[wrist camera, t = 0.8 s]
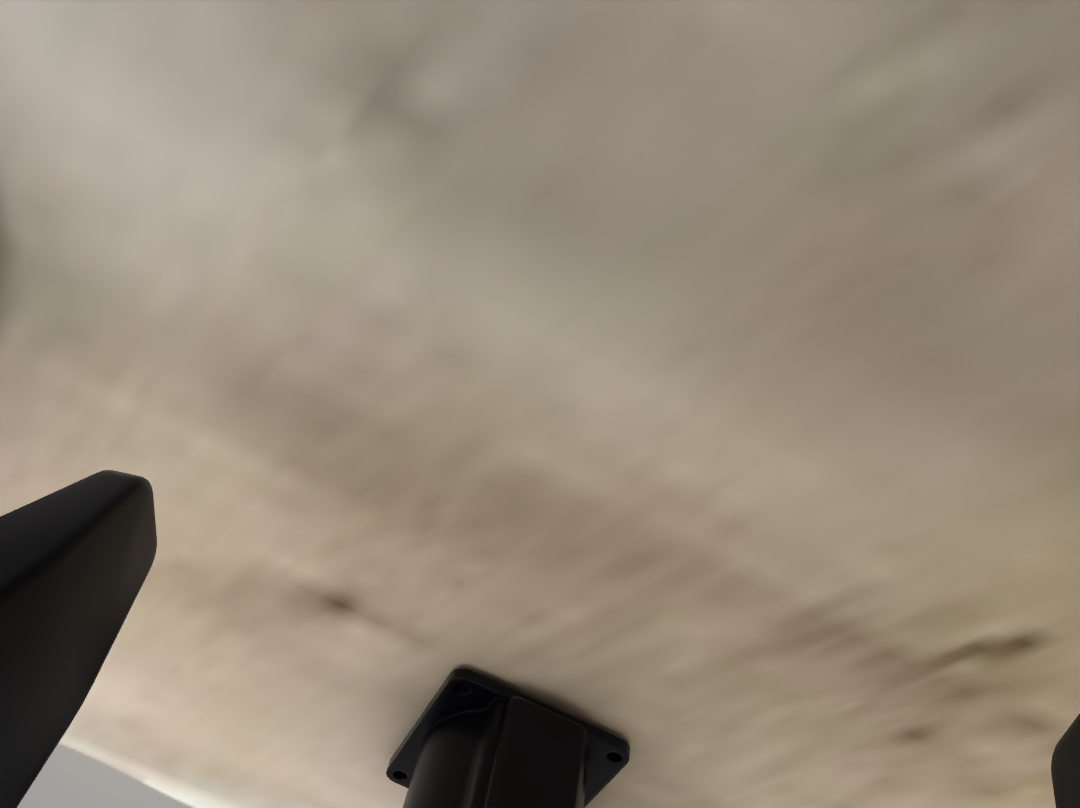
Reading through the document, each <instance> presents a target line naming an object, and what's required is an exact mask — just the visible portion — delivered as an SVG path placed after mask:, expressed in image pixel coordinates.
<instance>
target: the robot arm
mask: <svg viewBox="0 0 1080 808" xmlns="http://www.w3.org/2000/svg"><path fill="white" fill-rule="evenodd" d="M156 547H157V536H156V524H155V513H154V501H153V491H152V487H151V485H150V483H149V481H148V480H147V479H145V478H143V477H140V476H136V475H131V474H127V473H122V472H118V471H113V470H105V471H101V472H98V473H96V474H93V475H91V476H89V477H87V478H85V479H82V480H80V481H78V482H76V483H74V484H71V485H69V486H67V487H65V488H63V489H60V490H58V491H56V492H54V493H52V494H49V495H47V496H45V497H43V498H41V499H38V500H36V501H34V502H32V503H30V504H28V505H25V506H23V507H21V508H19V509H17V510H14V511H12V512H10V513H8V514H6V515H3V516H1V517H0V808H17V806H18V805H19V803H20V802H21V800H22V799H23V797H24V795H25V794H26V792H27V791H28V789H29V788H30V786H31V784H32V783H33V781H34V780H35V778H36V777H37V775H38V774H39V772H40V771H41V769H42V767H43V766H44V764H45V763H46V761H47V760H48V758H49V757H50V755H51V753H52V752H53V750H54V749H55V747H56V746H57V744H58V743H59V741H60V739H61V738H62V736H63V735H64V733H65V732H66V730H67V729H68V727H69V725H70V724H71V722H72V720H73V719H74V717H75V715H76V714H77V712H78V710H79V709H80V707H81V706H82V704H83V702H84V700H85V698H86V696H87V694H88V692H89V691H90V689H91V687H92V685H93V683H94V681H95V679H96V677H97V675H98V673H99V671H100V669H101V667H102V665H103V663H104V661H105V659H106V657H107V655H108V653H109V651H110V649H111V647H112V645H113V643H114V641H115V639H116V637H117V635H118V633H119V631H120V629H121V627H122V625H123V623H124V621H125V619H126V617H127V615H128V613H129V611H130V609H131V607H132V605H133V603H134V601H135V599H136V596H137V594H138V592H139V590H140V588H141V586H142V584H143V582H144V580H145V578H146V576H147V574H148V572H149V570H150V568H151V566H152V563H153V561H154V558H155V553H156ZM629 757H630V745H629V744H628V743H627V742H626V741H625V740H623V739H621V738H619V737H617V736H615V735H613V734H610V733H608V732H606V731H604V730H602V729H599V728H597V727H595V726H593V725H591V724H588V723H586V722H584V721H582V720H580V719H577V718H575V717H573V716H571V715H569V714H566V713H564V712H562V711H560V710H558V709H555V708H553V707H551V706H549V705H547V704H544V703H542V702H540V701H538V700H536V699H533V698H531V697H529V696H527V695H524V694H522V693H520V692H518V691H516V690H513V689H511V688H509V687H507V686H505V685H502V684H500V683H498V682H496V681H494V680H491V679H489V678H487V677H485V676H483V675H480V674H478V673H476V672H474V671H472V670H468V669H462V668H459V669H456V670H454V671H453V672H451V674H450V675H449V677H448V678H447V679H446V681H445V682H444V684H443V685H442V687H441V688H440V689H439V691H438V692H437V694H436V695H435V697H434V698H433V699H432V701H431V702H430V704H429V705H428V707H427V708H426V710H425V711H424V712H423V714H422V715H421V717H420V718H419V720H418V721H417V722H416V724H415V725H414V727H413V728H412V730H411V731H410V732H409V734H408V735H407V737H406V738H405V740H404V741H403V743H402V744H401V745H400V747H399V748H398V750H397V751H396V753H395V754H394V755H393V757H392V758H391V760H390V763H389V766H388V769H387V772H386V774H387V777H388V778H389V779H390V780H392V781H393V782H395V783H397V784H400V785H402V786H404V787H407V788H409V789H408V792H407V796H406V799H405V803H404V806H403V808H584V807H585V806H586V805H587V804H588V803H589V802H590V801H591V800H592V799H593V798H594V797H595V796H596V795H597V794H598V793H599V792H600V791H601V790H602V789H603V788H604V787H605V786H606V785H607V784H608V783H609V782H610V781H611V780H612V779H613V778H614V777H615V776H616V774H617V773H618V772H619V771H620V770H621V769H622V768H623V767H624V766H625V765H626V764H627V763H628V761H629ZM1051 772H1052V781H1053V789H1054V796H1055V803H1056V808H1080V714H1079V715H1078V716H1077V718H1076V719H1075V720H1074V722H1073V723H1072V724H1071V726H1070V727H1069V728H1068V730H1067V731H1066V732H1065V734H1064V735H1063V737H1062V738H1061V739H1060V741H1059V742H1058V744H1057V745H1056V747H1055V750H1054V753H1053V756H1052V764H1051Z"/></svg>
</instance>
